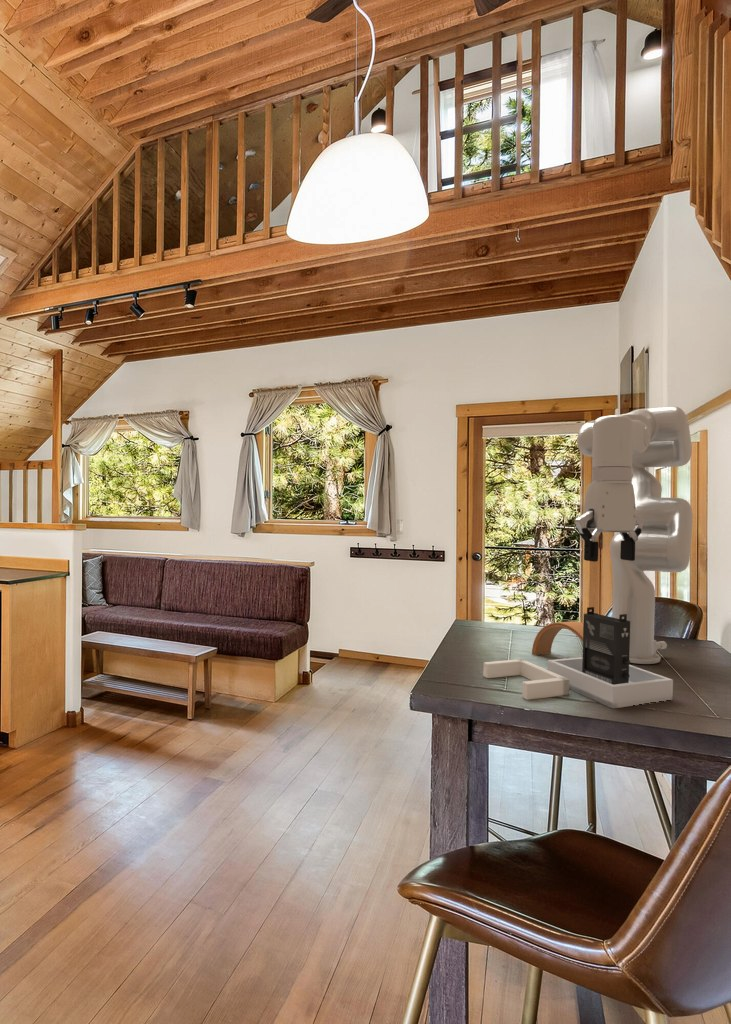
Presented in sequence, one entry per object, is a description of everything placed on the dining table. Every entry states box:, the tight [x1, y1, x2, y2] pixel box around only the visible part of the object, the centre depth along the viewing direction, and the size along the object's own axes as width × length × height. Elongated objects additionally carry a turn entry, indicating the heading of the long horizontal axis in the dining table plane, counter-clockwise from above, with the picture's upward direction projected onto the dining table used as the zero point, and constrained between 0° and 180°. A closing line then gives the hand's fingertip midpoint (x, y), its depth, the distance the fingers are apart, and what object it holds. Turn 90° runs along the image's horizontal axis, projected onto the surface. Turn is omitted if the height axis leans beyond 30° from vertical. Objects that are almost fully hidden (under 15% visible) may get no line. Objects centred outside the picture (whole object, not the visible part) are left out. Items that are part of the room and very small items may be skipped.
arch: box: [531, 620, 583, 656], centre depth 128 cm, size 6×20×10 cm, turn 25°
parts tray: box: [546, 656, 674, 710], centre depth 110 cm, size 15×18×4 cm
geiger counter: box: [582, 606, 631, 685], centre depth 110 cm, size 10×4×15 cm, turn 25°
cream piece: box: [482, 658, 570, 701], centre depth 111 cm, size 10×15×3 cm, turn 21°
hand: (609, 560), depth 110 cm, fingers open, 9 cm apart
